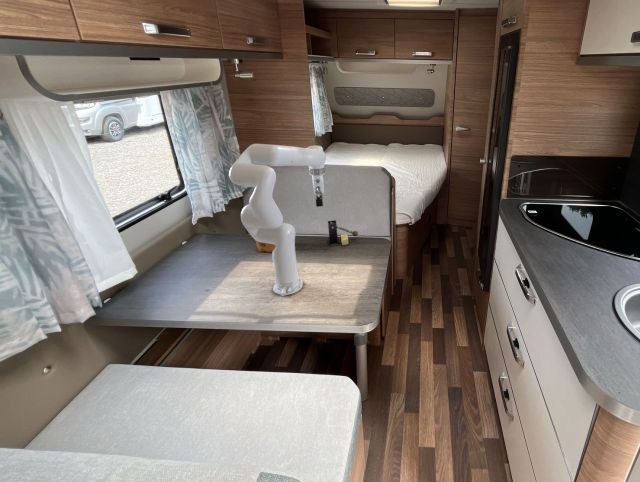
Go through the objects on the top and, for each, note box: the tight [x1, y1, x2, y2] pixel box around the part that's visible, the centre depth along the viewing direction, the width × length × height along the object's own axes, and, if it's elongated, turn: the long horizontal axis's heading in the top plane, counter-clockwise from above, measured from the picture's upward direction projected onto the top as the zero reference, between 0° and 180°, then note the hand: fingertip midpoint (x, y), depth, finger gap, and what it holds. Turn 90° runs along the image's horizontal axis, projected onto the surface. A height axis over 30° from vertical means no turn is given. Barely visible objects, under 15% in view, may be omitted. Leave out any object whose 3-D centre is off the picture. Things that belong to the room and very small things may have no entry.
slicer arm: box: [330, 222, 359, 237], centre depth 190 cm, size 17×3×3 cm, turn 106°
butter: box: [340, 233, 349, 246], centre depth 190 cm, size 7×4×4 cm, turn 16°
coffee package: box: [255, 240, 276, 253], centre depth 180 cm, size 10×12×22 cm
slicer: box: [327, 219, 339, 245], centre depth 189 cm, size 5×6×13 cm
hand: (319, 202), depth 173 cm, fingers open, 9 cm apart
